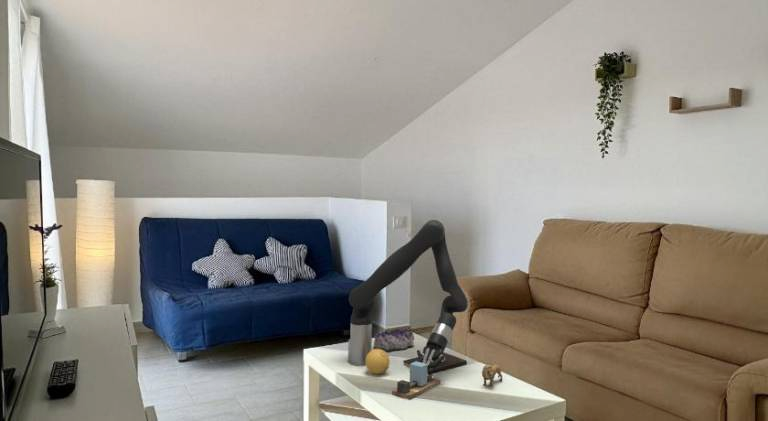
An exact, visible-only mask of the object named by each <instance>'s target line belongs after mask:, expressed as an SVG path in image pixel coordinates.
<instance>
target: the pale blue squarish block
mask: <svg viewBox="0 0 768 421" xmlns="http://www.w3.org/2000/svg"><path fill="white" fill-rule="evenodd" d="M427 376H428V375H427V364H424V363H420V362H417V361H416V362H413V363H411V364H410V367H409V382H410V383H413V382H415V381H417V382H418V384H417V385H418V386H423V385H425V384H427Z"/></svg>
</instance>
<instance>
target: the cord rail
mask: <svg viewBox="0 0 768 421" xmlns="http://www.w3.org/2000/svg"><path fill="white" fill-rule="evenodd" d="M433 376H434V374H430V375H427V384H425V385H423V386H418V385H417V384H418V382H417V381H415V382H413V383H410V381H408V380H404V379H401V380H399V381H397V383H396V386H397V387H396V388H394V389H392V390H391V395H393V396H396V397H400V398H402V399H406V400H410V401H411V400H412V399H414V398H416V396H417V397H418V396H420V395H423V394H424V393H426V392H427V391H430V390H432V389H433V388H436V387H438V386H439V385H442V380H441V379H439V378H436V377H435V378H434V377H433Z"/></svg>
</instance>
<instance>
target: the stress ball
mask: <svg viewBox="0 0 768 421" xmlns="http://www.w3.org/2000/svg"><path fill="white" fill-rule="evenodd" d="M365 363H366V365H365V367H366V369H367V371H369V372H370V373H371V374H375V375H382V374H385V373H386V372H387V371H388V370H389V368H390V367H389V366H390V364H391V363H390V356H389V354H388V352H387V351H384V350H382V349H377V348H374V349H371V351H370V352H369V353H368V355H367V356H366V360H365Z"/></svg>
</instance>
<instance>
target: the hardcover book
mask: <svg viewBox="0 0 768 421" xmlns="http://www.w3.org/2000/svg"><path fill="white" fill-rule="evenodd" d="M443 356H444V358H445V359H446V361H445V362H444V363H442V364H441V365H439V366H438V367H436V368H434V369H433V368H430V369H429V371H428V373H427V376H428V375H430V374H432V375H434V374H438V373H441V372H444V371H448V370H452V369H455V368H460V367H464V366H467V364H468V362H467V360H466V359H463V358H461V357H458V356H455V355H452V354H449V353H447V352H444V351H443ZM422 357H423V360H424V355H423V356H422ZM416 361H417V362H419V359H418V356H417V357H413V358H412V357H411V358H409V359H405V360H404V359H403V360H402V362H403V366H406V367H408V368H410V364H411V363H413V362H416Z"/></svg>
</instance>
